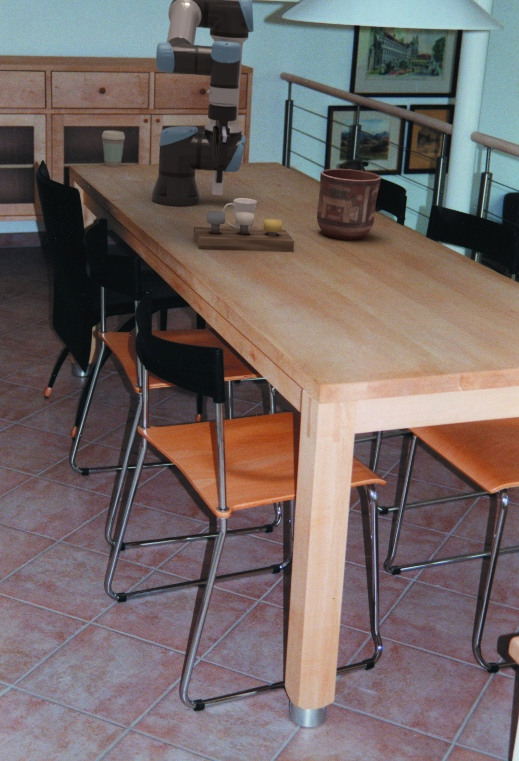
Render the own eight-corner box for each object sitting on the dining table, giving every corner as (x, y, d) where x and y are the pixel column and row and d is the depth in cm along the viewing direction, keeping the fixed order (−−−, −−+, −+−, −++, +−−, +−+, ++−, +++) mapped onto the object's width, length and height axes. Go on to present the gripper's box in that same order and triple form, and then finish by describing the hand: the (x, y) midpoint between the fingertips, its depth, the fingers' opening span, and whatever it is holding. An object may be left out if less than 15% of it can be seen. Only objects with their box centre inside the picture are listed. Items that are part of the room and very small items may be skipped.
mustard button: (261, 236, 274) (262, 218, 272) (278, 237, 275) (280, 219, 273) (264, 241, 270) (266, 223, 268) (282, 242, 271) (283, 223, 269)
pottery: (375, 245, 282) (382, 182, 275) (314, 239, 282) (320, 176, 276) (372, 231, 298) (379, 171, 292) (314, 225, 299) (320, 166, 292)
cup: (256, 231, 286) (259, 203, 283) (223, 229, 285) (224, 202, 282) (253, 225, 293) (255, 198, 290) (220, 223, 291) (221, 196, 288)
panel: (193, 237, 274) (194, 226, 273) (284, 240, 279) (285, 229, 278) (199, 249, 263) (199, 238, 262) (293, 251, 268) (294, 240, 267)
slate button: (204, 229, 270) (205, 210, 268) (222, 229, 271) (223, 211, 269) (207, 233, 266) (208, 215, 264) (225, 234, 267) (226, 215, 265)
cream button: (233, 230, 272) (234, 211, 270) (251, 230, 273) (252, 212, 271) (236, 234, 267) (237, 215, 265) (254, 235, 268) (255, 216, 266)
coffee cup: (128, 167, 360) (129, 134, 356) (106, 167, 356) (106, 134, 352) (119, 162, 367) (119, 130, 362) (97, 163, 363) (98, 130, 358)
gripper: (205, 100, 260) (200, 188, 269) (212, 106, 249) (207, 199, 258) (233, 101, 262) (227, 189, 271) (241, 108, 250) (235, 200, 259)
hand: (217, 194), depth 264 cm, fingers closed
